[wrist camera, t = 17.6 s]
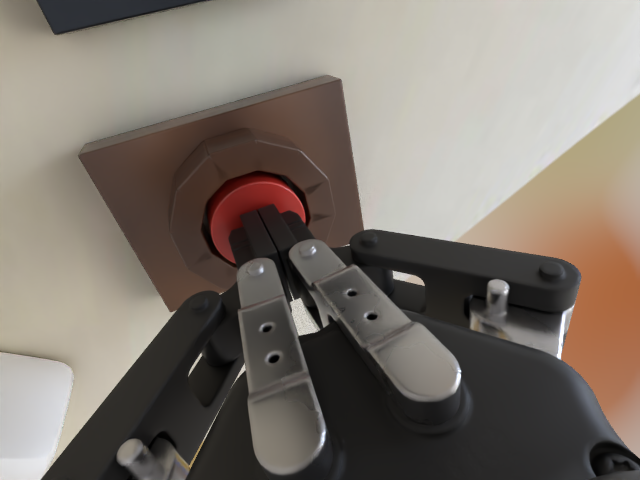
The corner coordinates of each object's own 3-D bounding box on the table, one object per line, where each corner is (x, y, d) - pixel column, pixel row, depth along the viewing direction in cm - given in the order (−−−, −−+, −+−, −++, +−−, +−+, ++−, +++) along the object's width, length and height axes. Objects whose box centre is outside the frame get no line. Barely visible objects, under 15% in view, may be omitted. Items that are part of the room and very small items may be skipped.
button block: (328, 74, 17) (362, 85, 14) (353, 225, 22) (383, 256, 19) (84, 144, 15) (65, 173, 12) (169, 294, 20) (171, 340, 17)
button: (282, 155, 16) (294, 168, 15) (302, 231, 18) (314, 248, 17) (192, 184, 15) (195, 201, 14) (224, 260, 18) (229, 280, 16)
